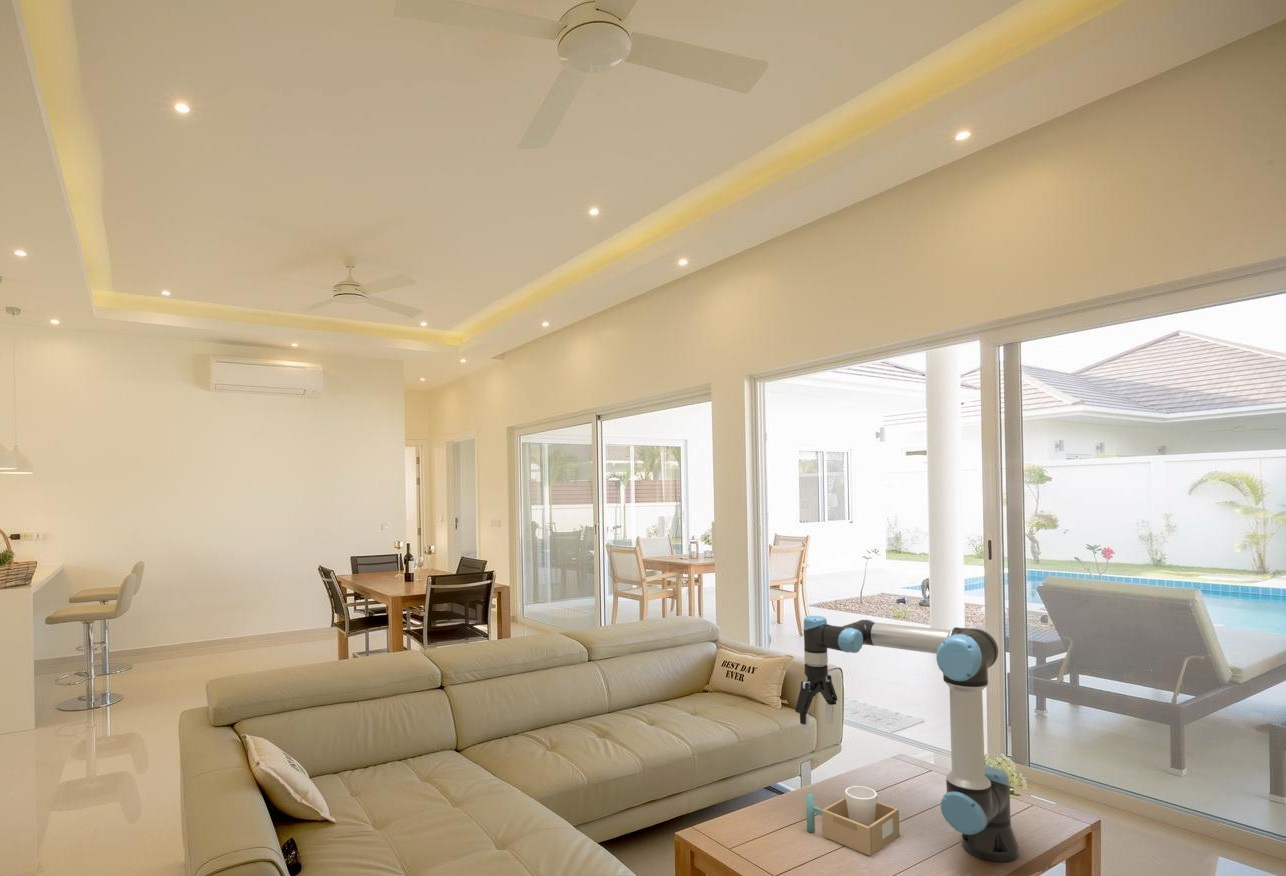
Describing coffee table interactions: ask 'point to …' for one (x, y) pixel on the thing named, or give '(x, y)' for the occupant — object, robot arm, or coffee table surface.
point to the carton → (875, 823)
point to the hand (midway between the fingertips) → (817, 728)
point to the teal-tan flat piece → (839, 828)
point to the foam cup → (861, 804)
